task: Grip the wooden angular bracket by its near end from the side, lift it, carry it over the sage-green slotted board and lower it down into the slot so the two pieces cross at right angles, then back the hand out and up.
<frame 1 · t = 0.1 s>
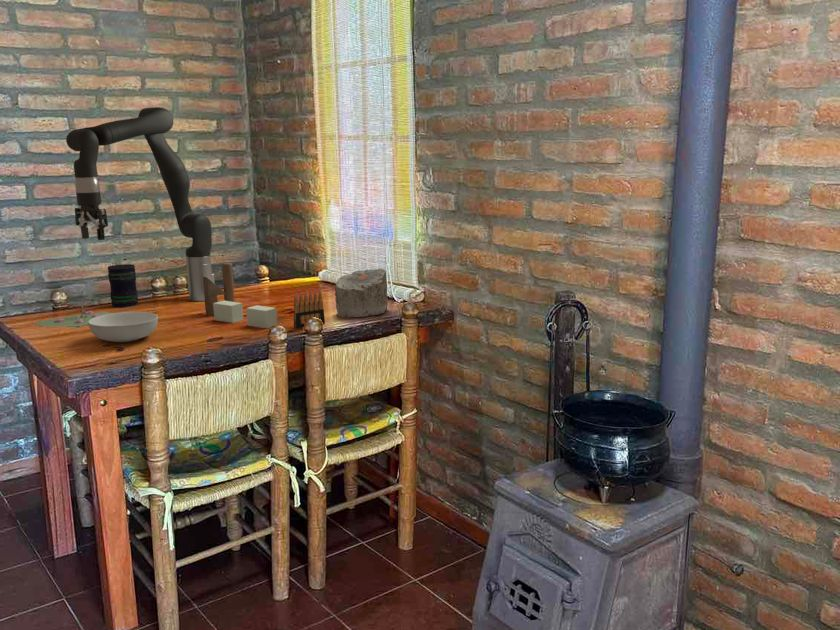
hand: (93, 239, 270), 29 cm above the table, tool pointing down, fingers open, 8 cm apart
serving bowl: (125, 339, 255), on the table
wooden angular bracket: (221, 314, 288), on the table
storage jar: (125, 305, 305), on the table
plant: (73, 322, 281), on the table
ammunition clip: (309, 326, 268), on the table
petrified wood: (362, 313, 286), on the table
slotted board: (245, 322, 273), on the table
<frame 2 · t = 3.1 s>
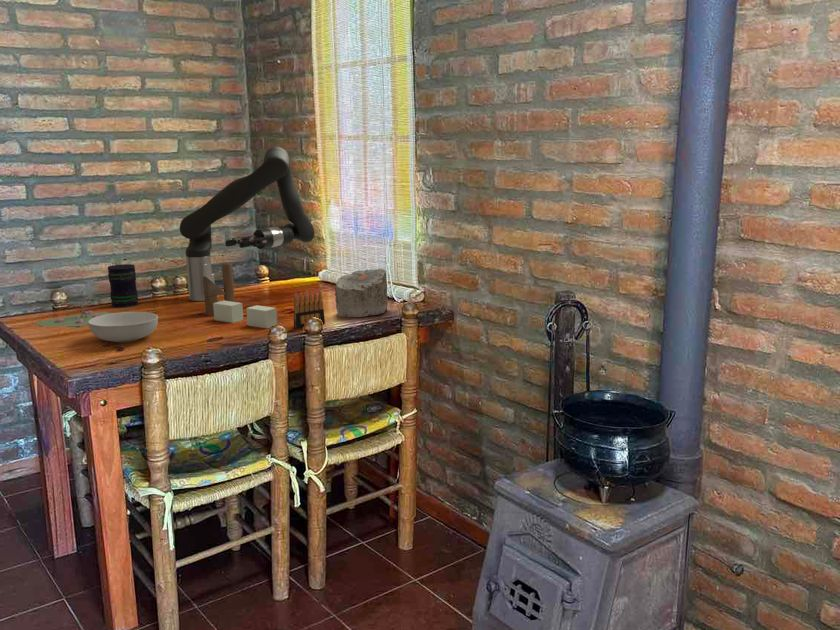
hand: (232, 244, 290), 24 cm above the table, tool horizontal, fingers open, 8 cm apart
nothing on the table moved.
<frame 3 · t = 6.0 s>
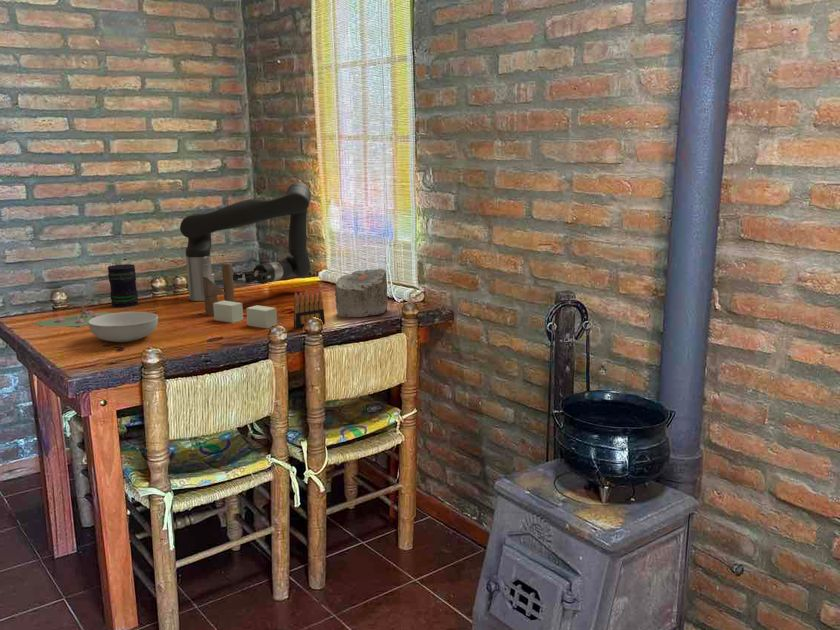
hand: (237, 279, 293), 11 cm above the table, tool horizontal, fingers open, 8 cm apart
nothing on the table moved.
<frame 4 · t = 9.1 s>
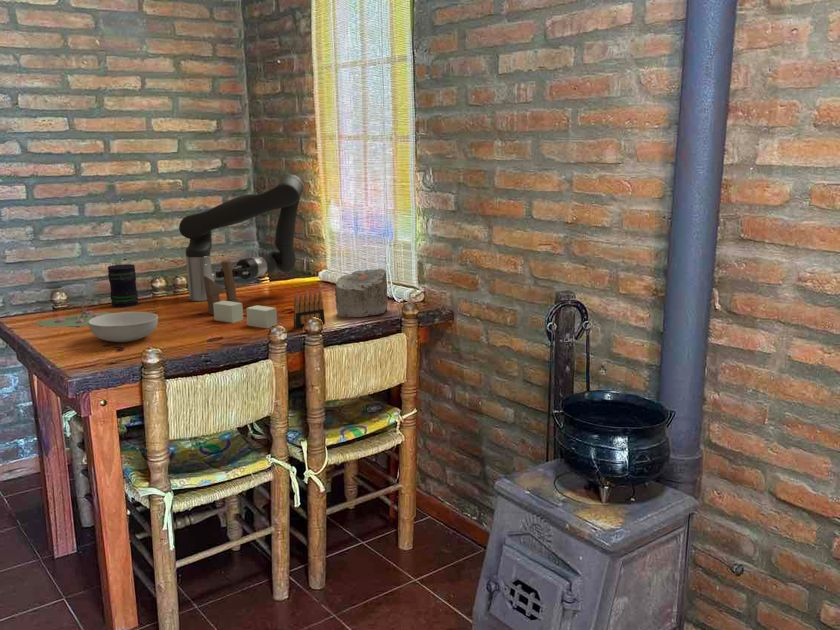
hand: (217, 275, 284), 14 cm above the table, tool horizontal, fingers closed
wooden angular bracket: (225, 312, 288), on the table, touching gripper
everything else where it was.
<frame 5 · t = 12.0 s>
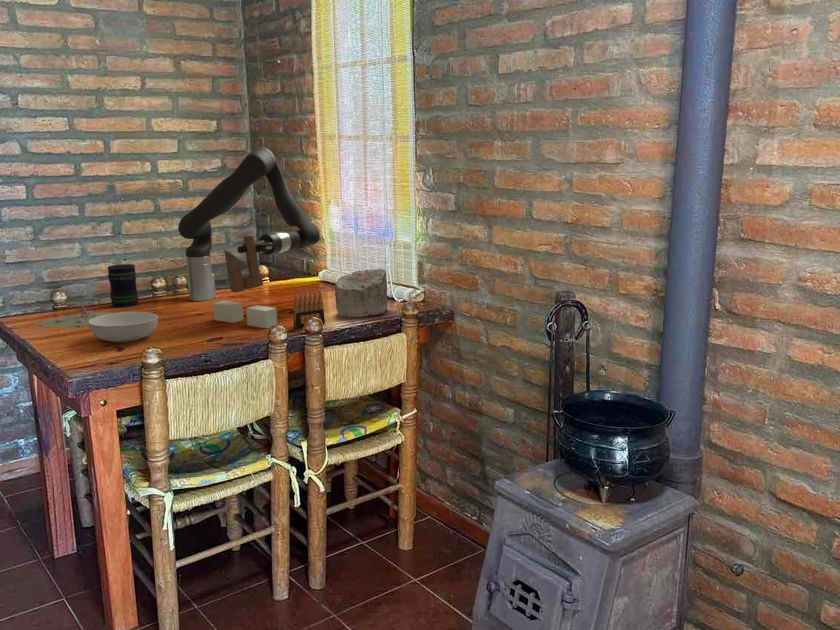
hand: (239, 249, 267), 25 cm above the table, tool horizontal, fingers closed
wooden angular bracket: (247, 289, 272), point 11 cm above the table, touching gripper
everything else where it was.
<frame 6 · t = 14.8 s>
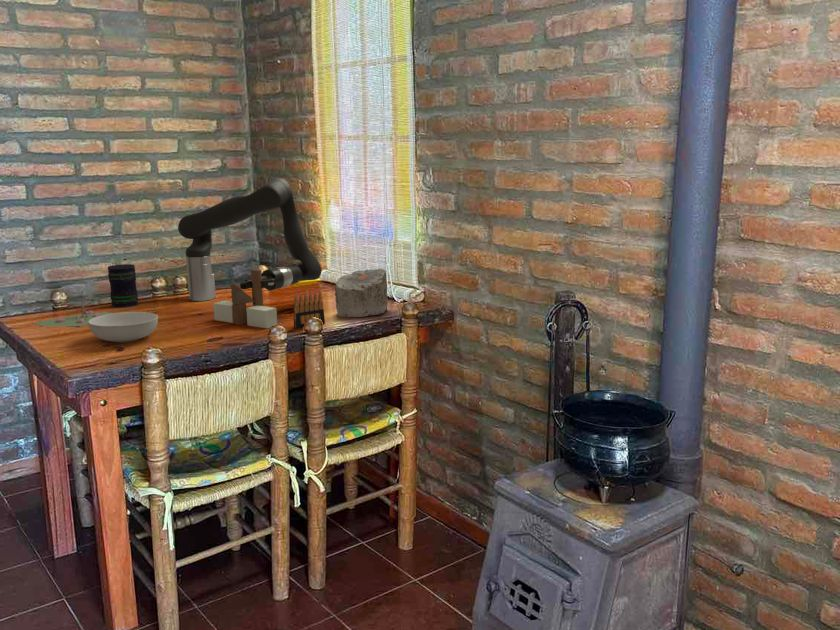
hand: (241, 286, 270), 13 cm above the table, tool horizontal, fingers closed
wooden angular bracket: (250, 322, 274), resting in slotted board
everything else where it was.
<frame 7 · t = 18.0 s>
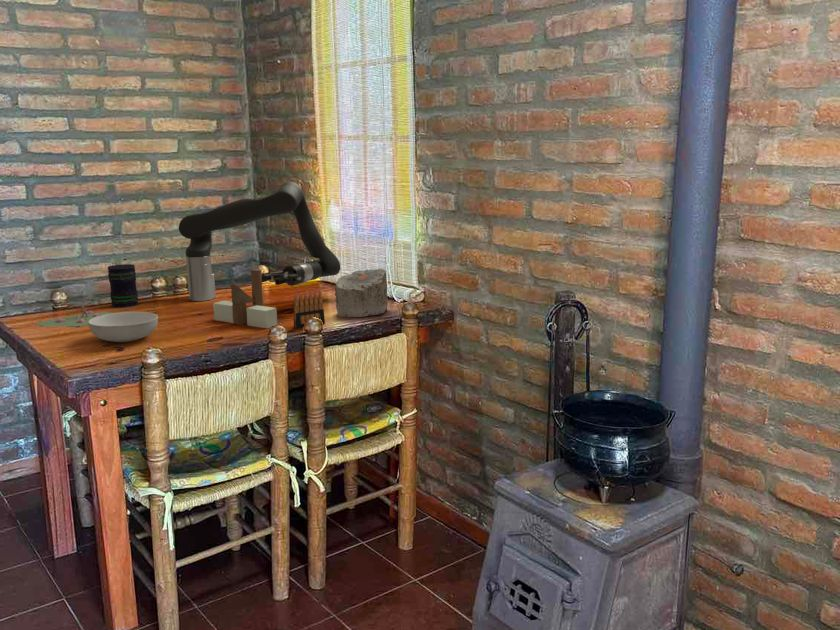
hand: (267, 281, 280), 13 cm above the table, tool horizontal, fingers open, 8 cm apart
nothing on the table moved.
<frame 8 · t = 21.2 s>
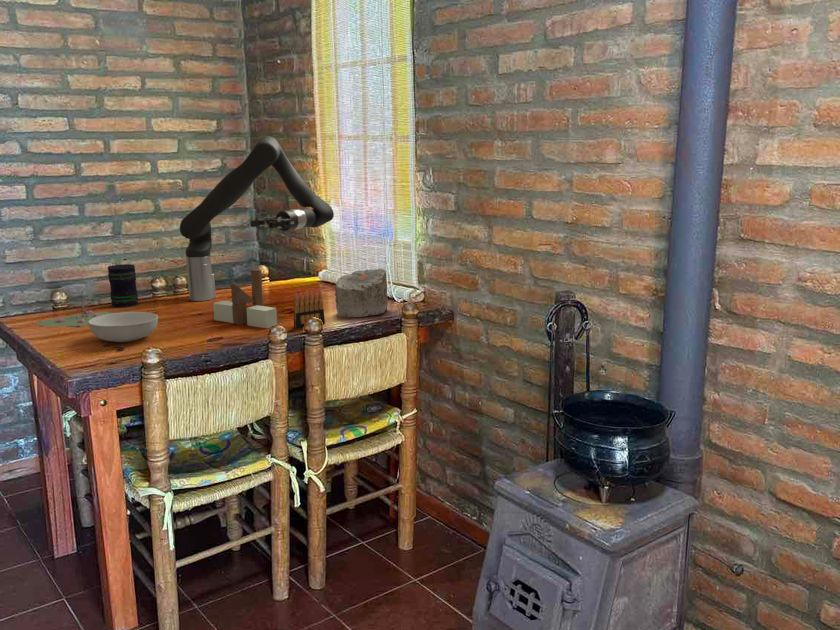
hand: (260, 224, 280), 32 cm above the table, tool horizontal, fingers open, 8 cm apart
nothing on the table moved.
at the end: wooden angular bracket 1.7 cm off-centre on the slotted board, point 0.0 cm above the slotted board's base; wooden angular bracket tilted 0°; the gripper is holding nothing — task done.
